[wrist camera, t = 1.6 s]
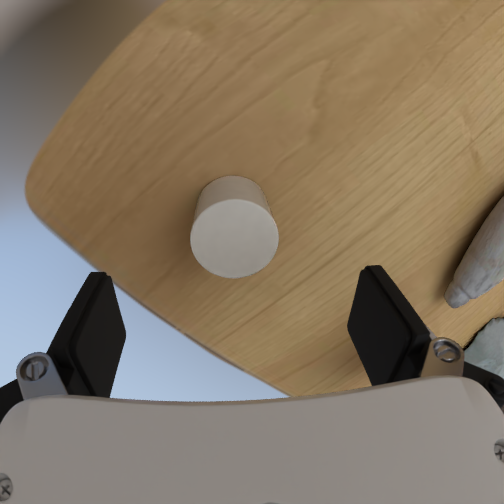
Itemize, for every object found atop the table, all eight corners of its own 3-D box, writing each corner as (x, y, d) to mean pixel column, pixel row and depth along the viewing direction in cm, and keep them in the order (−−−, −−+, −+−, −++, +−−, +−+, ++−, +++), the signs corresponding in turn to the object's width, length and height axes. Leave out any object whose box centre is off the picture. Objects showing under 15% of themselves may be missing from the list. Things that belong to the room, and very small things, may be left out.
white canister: (194, 176, 17) (187, 200, 14) (269, 175, 17) (281, 199, 14) (198, 242, 19) (193, 279, 16) (266, 241, 20) (276, 277, 16)
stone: (552, 313, 24) (512, 400, 30) (533, 299, 28) (499, 383, 34) (476, 333, 25) (433, 429, 30) (456, 313, 29) (421, 407, 34)
